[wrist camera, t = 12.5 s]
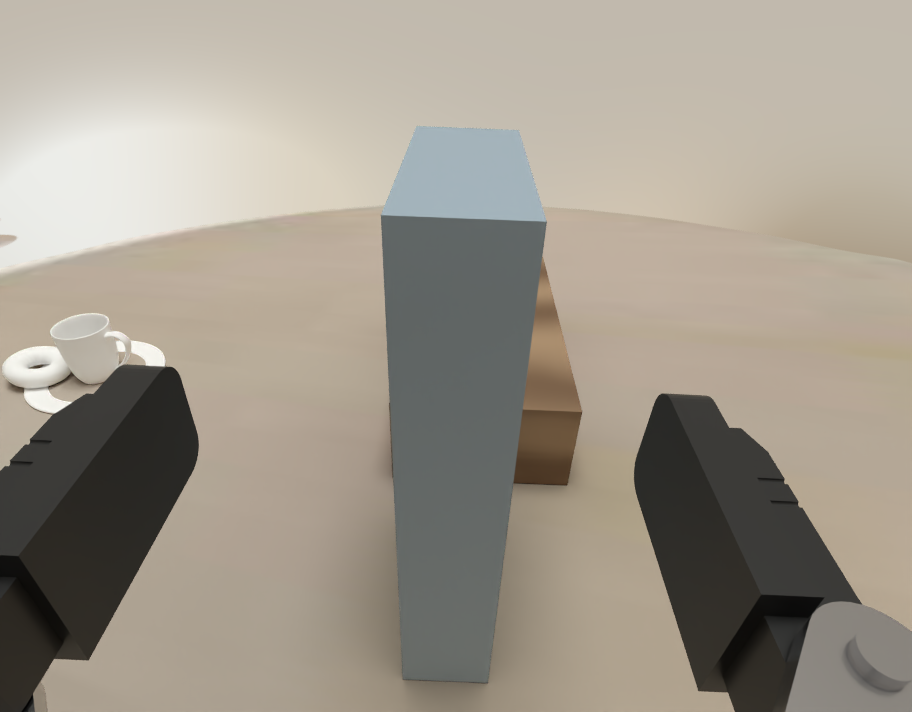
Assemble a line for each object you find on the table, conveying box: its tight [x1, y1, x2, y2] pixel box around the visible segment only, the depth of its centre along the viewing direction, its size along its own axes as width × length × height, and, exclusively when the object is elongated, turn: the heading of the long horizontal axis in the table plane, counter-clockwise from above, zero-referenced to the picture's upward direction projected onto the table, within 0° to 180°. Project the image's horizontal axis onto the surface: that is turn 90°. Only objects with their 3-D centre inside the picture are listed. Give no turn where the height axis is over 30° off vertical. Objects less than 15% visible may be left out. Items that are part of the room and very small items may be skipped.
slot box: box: [389, 257, 582, 485], centre depth 35 cm, size 18×9×5 cm, turn 179°
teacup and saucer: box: [2, 313, 166, 414], centre depth 35 cm, size 9×8×4 cm
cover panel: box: [381, 126, 547, 683], centre depth 19 cm, size 8×3×18 cm, turn 178°
